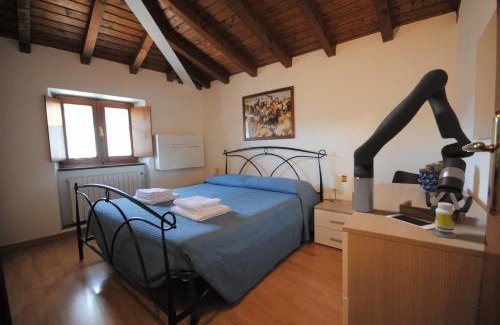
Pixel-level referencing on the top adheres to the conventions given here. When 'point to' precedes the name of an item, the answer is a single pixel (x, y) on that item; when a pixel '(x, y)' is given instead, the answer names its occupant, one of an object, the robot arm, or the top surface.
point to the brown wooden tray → (422, 211)
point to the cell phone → (412, 221)
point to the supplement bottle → (444, 217)
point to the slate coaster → (444, 234)
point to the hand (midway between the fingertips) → (443, 218)
